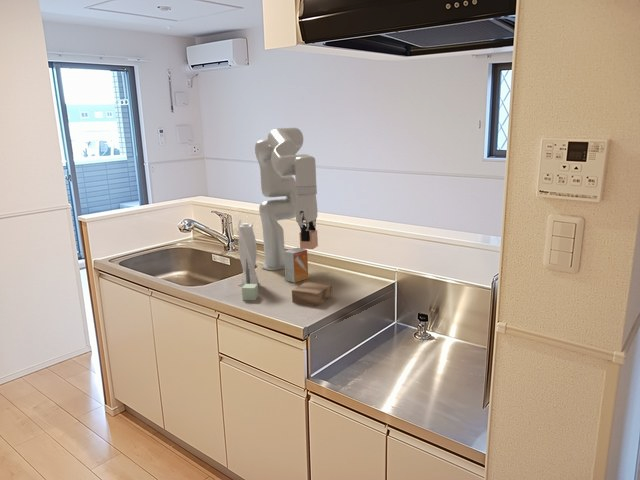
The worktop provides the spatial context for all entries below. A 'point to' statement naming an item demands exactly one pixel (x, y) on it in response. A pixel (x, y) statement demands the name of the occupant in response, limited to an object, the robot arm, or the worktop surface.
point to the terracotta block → (312, 243)
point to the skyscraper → (247, 253)
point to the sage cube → (250, 291)
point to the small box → (296, 265)
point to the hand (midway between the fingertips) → (308, 238)
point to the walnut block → (311, 293)
